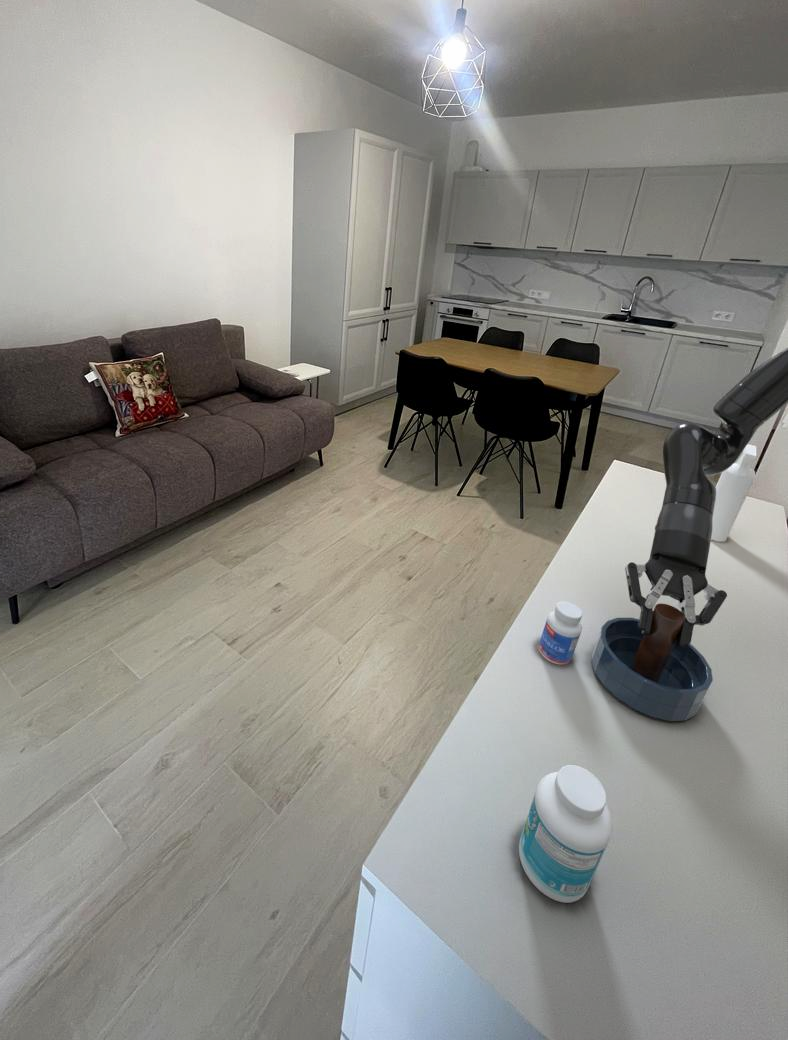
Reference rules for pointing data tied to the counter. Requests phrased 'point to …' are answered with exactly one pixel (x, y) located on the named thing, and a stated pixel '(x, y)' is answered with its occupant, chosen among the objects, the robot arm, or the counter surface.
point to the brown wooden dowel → (658, 642)
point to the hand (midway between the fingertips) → (662, 640)
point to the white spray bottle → (732, 493)
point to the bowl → (663, 700)
